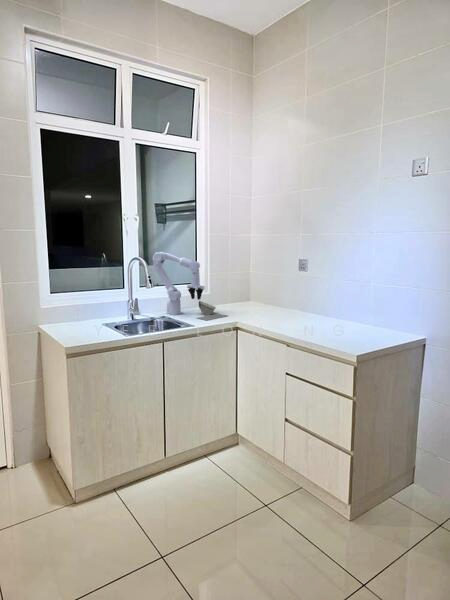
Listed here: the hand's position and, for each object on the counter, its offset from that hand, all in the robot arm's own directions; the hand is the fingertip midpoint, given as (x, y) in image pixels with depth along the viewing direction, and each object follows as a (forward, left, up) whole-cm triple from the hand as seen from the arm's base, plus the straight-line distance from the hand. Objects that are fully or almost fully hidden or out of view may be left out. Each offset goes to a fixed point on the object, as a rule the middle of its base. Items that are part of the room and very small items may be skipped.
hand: (196, 299), depth 266 cm
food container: (+7, +2, -8) cm, 11 cm away
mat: (+16, 0, -10) cm, 19 cm away
